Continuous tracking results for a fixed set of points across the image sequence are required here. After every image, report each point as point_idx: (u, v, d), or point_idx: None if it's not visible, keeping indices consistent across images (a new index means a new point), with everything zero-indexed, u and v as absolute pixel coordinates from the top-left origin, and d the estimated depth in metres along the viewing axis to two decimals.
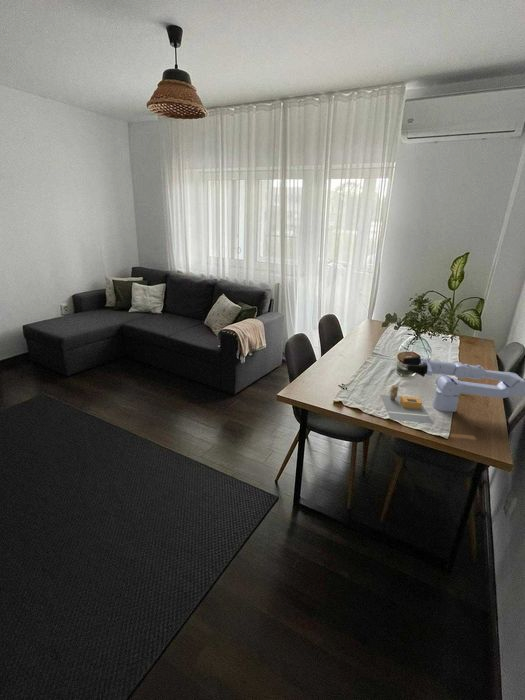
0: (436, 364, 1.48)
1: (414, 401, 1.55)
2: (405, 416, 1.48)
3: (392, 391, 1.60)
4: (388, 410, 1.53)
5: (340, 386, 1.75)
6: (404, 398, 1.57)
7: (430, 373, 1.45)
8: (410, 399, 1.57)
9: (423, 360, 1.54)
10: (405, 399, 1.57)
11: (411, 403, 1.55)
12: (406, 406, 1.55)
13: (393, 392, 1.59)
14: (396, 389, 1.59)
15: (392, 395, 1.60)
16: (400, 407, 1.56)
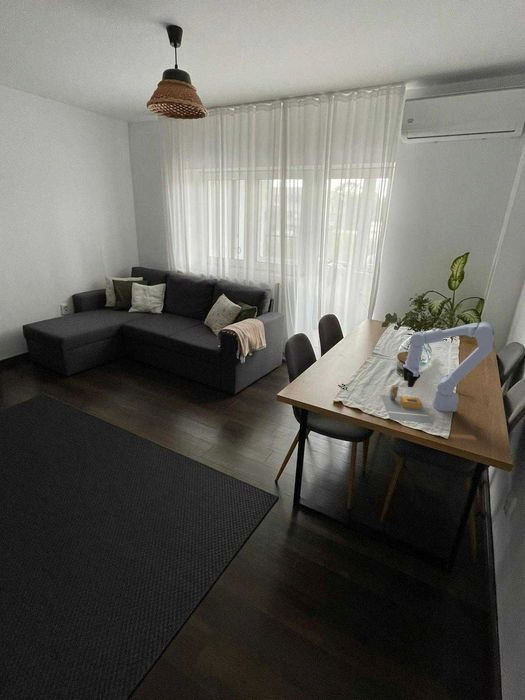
0: (409, 361, 1.57)
1: (414, 401, 1.55)
2: (405, 416, 1.48)
3: (392, 391, 1.60)
4: (388, 410, 1.53)
5: (340, 386, 1.75)
6: (404, 398, 1.57)
7: (416, 374, 1.53)
8: (410, 399, 1.57)
9: None
10: (405, 399, 1.57)
11: (411, 403, 1.55)
12: (406, 406, 1.55)
13: (393, 392, 1.59)
14: (396, 389, 1.59)
15: (392, 395, 1.60)
16: (400, 407, 1.56)
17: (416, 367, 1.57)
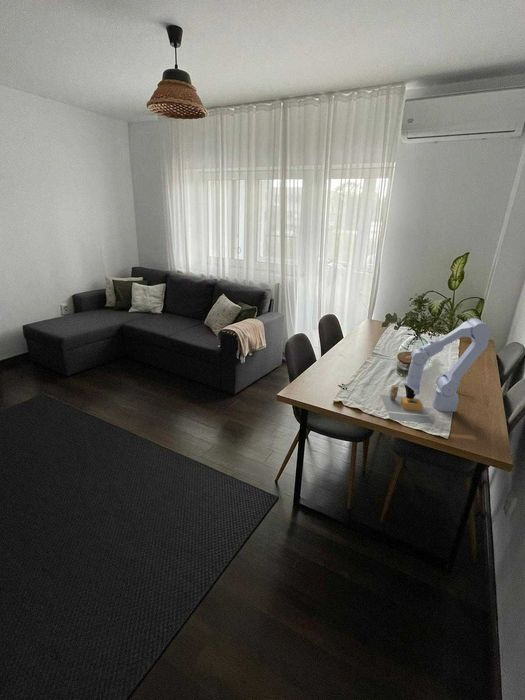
0: (410, 378, 1.54)
1: (415, 403, 1.54)
2: (405, 416, 1.48)
3: (392, 391, 1.60)
4: (388, 410, 1.53)
5: (340, 386, 1.75)
6: (405, 399, 1.56)
7: (417, 392, 1.50)
8: (411, 400, 1.55)
9: None
10: (406, 400, 1.55)
11: (411, 404, 1.53)
12: (407, 408, 1.54)
13: (393, 392, 1.59)
14: (396, 389, 1.59)
15: (392, 395, 1.60)
16: (400, 407, 1.56)
17: (417, 385, 1.54)
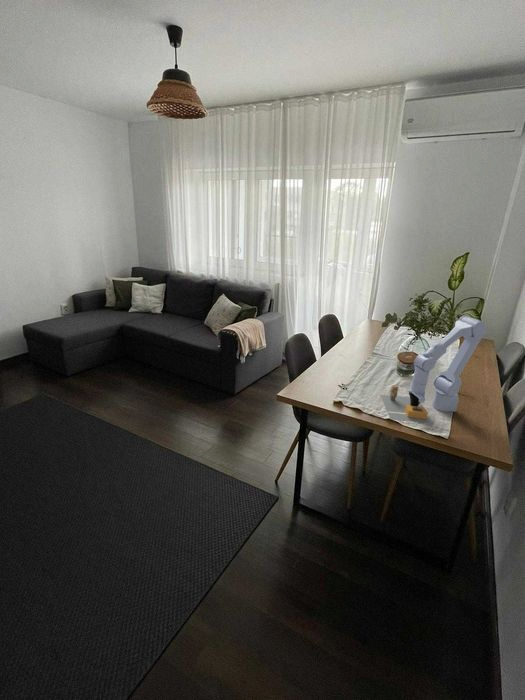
0: (415, 385, 1.47)
1: (420, 411, 1.47)
2: (405, 416, 1.48)
3: (392, 391, 1.60)
4: (388, 410, 1.53)
5: (340, 386, 1.75)
6: (409, 407, 1.50)
7: (422, 400, 1.43)
8: (415, 408, 1.49)
9: None
10: (410, 408, 1.49)
11: (416, 412, 1.47)
12: (411, 416, 1.48)
13: (393, 392, 1.59)
14: (396, 389, 1.59)
15: (392, 395, 1.60)
16: (400, 407, 1.56)
17: (422, 392, 1.47)
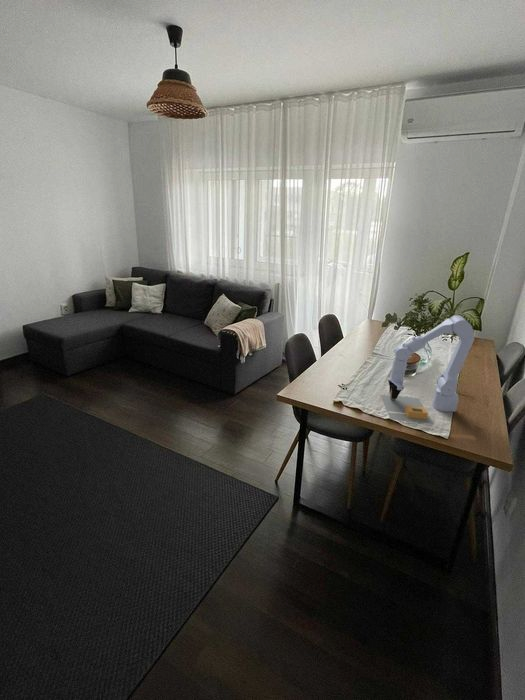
0: (393, 374, 1.56)
1: (420, 411, 1.47)
2: (405, 416, 1.48)
3: None
4: (388, 410, 1.53)
5: (340, 386, 1.75)
6: (409, 407, 1.50)
7: (400, 387, 1.52)
8: (415, 409, 1.49)
9: None
10: (410, 408, 1.49)
11: (416, 413, 1.47)
12: (411, 416, 1.48)
13: None
14: None
15: None
16: (400, 407, 1.56)
17: (400, 381, 1.56)
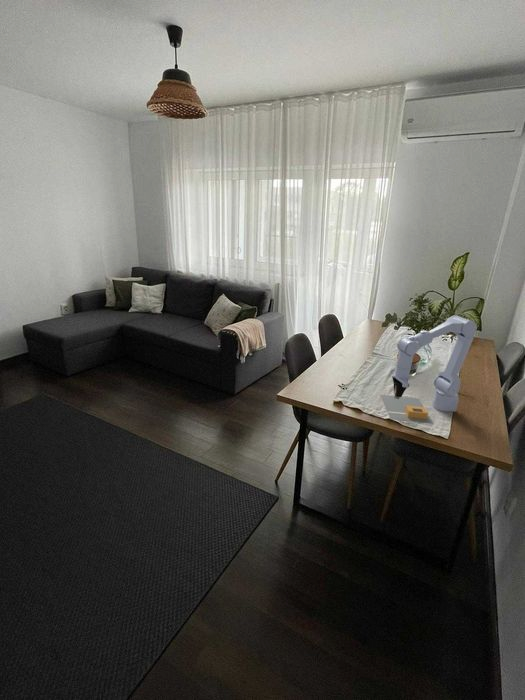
0: (398, 370, 1.43)
1: (420, 411, 1.47)
2: (405, 416, 1.48)
3: None
4: (388, 410, 1.53)
5: (340, 386, 1.75)
6: (409, 407, 1.50)
7: (405, 384, 1.39)
8: (415, 409, 1.49)
9: None
10: (410, 408, 1.49)
11: (416, 413, 1.47)
12: (411, 416, 1.48)
13: None
14: None
15: None
16: (400, 407, 1.56)
17: (406, 377, 1.43)
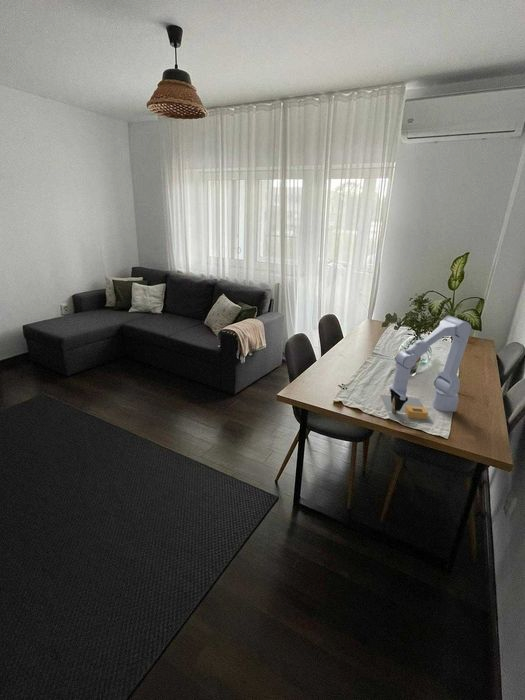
0: (396, 383, 1.44)
1: (420, 411, 1.47)
2: (405, 416, 1.48)
3: (394, 404, 1.49)
4: (388, 410, 1.53)
5: (340, 386, 1.75)
6: (409, 407, 1.50)
7: (403, 397, 1.40)
8: (415, 409, 1.49)
9: None
10: (410, 408, 1.49)
11: (416, 413, 1.47)
12: (411, 416, 1.48)
13: None
14: None
15: (394, 408, 1.49)
16: None
17: (404, 390, 1.44)
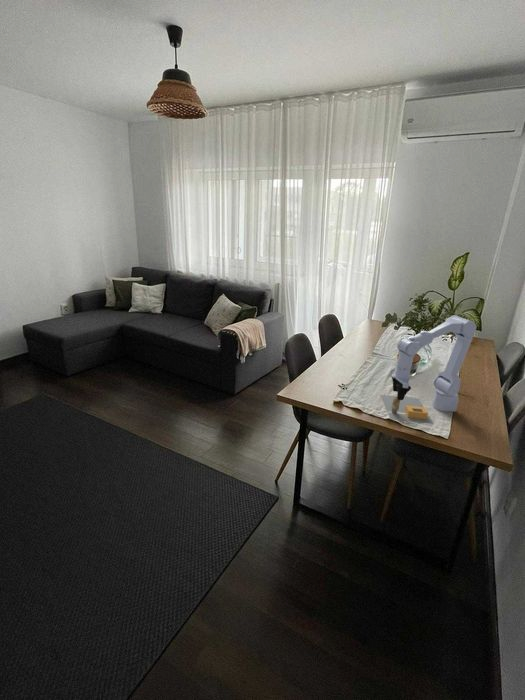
0: (399, 371, 1.42)
1: (420, 411, 1.47)
2: (405, 416, 1.48)
3: (394, 403, 1.49)
4: (388, 410, 1.53)
5: (340, 386, 1.75)
6: (409, 407, 1.50)
7: (406, 385, 1.38)
8: (415, 409, 1.49)
9: None
10: (410, 408, 1.49)
11: (416, 413, 1.47)
12: (411, 416, 1.48)
13: (395, 404, 1.48)
14: (398, 401, 1.48)
15: (394, 408, 1.49)
16: (400, 407, 1.56)
17: (406, 378, 1.42)
